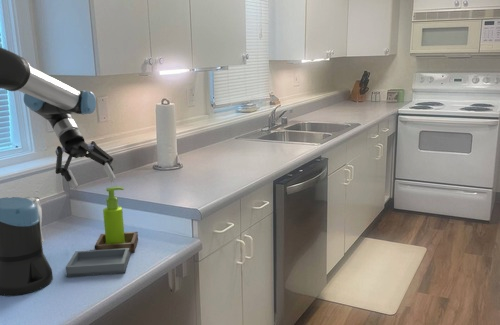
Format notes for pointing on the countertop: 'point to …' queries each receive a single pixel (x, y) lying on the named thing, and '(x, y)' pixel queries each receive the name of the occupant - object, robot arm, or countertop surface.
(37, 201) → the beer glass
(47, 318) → the countertop surface
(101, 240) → the holder collar
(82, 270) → the tray
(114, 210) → the soap dispenser
